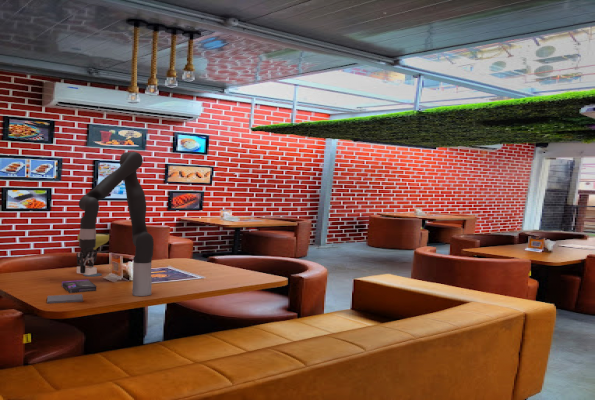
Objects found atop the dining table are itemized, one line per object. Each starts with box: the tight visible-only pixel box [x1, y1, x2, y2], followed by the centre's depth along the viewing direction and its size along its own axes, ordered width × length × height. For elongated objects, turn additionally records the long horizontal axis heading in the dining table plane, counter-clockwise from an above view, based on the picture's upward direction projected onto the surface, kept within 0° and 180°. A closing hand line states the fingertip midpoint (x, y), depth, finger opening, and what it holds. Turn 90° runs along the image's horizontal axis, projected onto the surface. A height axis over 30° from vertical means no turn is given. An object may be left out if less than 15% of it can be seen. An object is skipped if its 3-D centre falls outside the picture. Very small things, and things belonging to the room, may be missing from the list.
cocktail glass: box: [77, 232, 110, 278], centre depth 326 cm, size 18×18×25 cm
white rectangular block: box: [76, 265, 98, 275], centre depth 260 cm, size 8×5×3 cm, turn 64°
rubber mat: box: [46, 293, 84, 304], centre depth 264 cm, size 16×12×1 cm
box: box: [61, 278, 97, 294], centre depth 289 cm, size 14×4×20 cm
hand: (86, 272), depth 260 cm, fingers closed on white rectangular block, 5 cm apart
